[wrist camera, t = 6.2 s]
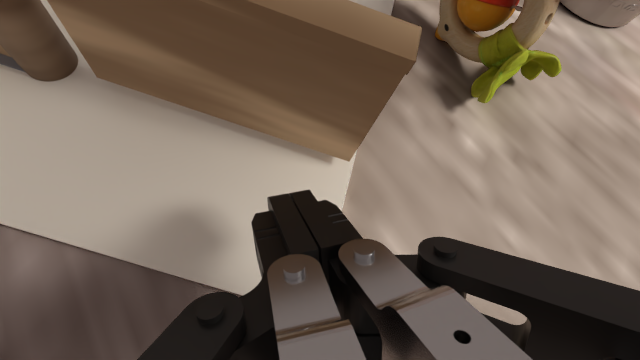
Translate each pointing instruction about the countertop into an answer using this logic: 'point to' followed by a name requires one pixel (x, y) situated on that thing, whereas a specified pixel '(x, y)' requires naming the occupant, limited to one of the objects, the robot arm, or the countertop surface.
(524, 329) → the robot arm
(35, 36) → the fixed fence section
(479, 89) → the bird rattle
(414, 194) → the countertop surface
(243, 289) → the card
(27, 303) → the countertop surface
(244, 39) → the fence panel
